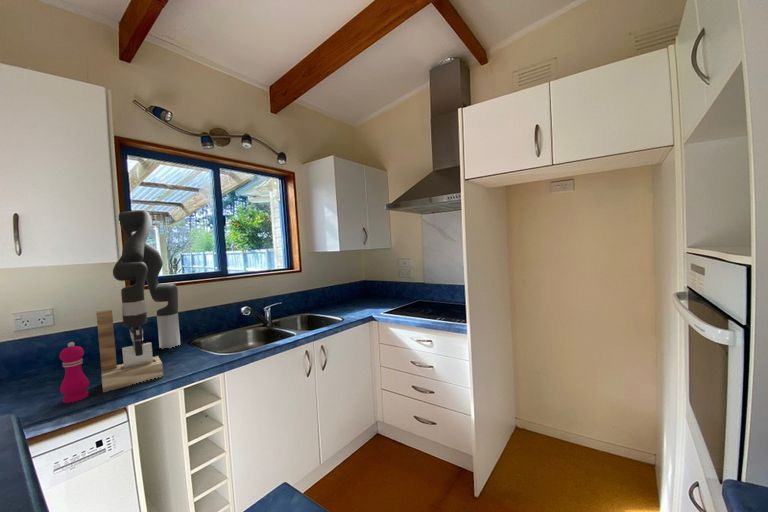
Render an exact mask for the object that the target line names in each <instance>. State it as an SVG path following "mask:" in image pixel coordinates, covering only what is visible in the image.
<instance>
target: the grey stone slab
mask: <svg viewBox="0 0 768 512" xmlns="http://www.w3.org/2000/svg"><path fill="white" fill-rule="evenodd" d="M152 346H153V344H152V342H146V343H145V342H143V345H142V349H143V354H142V355H140V356H136V354H135V346H133V345H130V346H126V347H125V346H124V347H121V349H122V350H121V351H122V360H123V361H122V362H123V363H122V364H124V369H128V368H132V367H136V366H141V365H145V364H149V363H153V357H154V356H153V355H154V354H153V347H152Z"/></svg>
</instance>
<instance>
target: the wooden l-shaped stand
mask: <svg viewBox="0 0 768 512" xmlns="http://www.w3.org/2000/svg"><path fill="white" fill-rule="evenodd" d="M96 325H97V336H98V348H99V357H100V358H99V360H100V368H101V369H100V370H101V371H100V372H101V385H102V393H107V392H110V390H111V391H113V390H118V389H122V388H125V387H129V386H132V384H133V385H136V383H137V384H140V383H139V382H141V383H144V382H147V381H146V380H148V381H151V380H150V379H152V380H155V379H154V378H156V379H158V377H159V378H163V377H164V369H163V367H164V366H163V362H162V360H161V359H160V357H159V355H156V356H153V363H149V364H145V365H141V366H136V367H132V368H128V369H124V363H122V364H118V363H117V351H116V342H115V339H116V338H115V330H114V329H115V328H114V317H113V309H105V310H99V311H96ZM162 376H163V377H162ZM143 381H144V382H143Z"/></svg>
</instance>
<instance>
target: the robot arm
mask: <svg viewBox="0 0 768 512" xmlns="http://www.w3.org/2000/svg"><path fill="white" fill-rule="evenodd" d="M118 217H119V218H118V222H119V221H120V223H119V225H120V227H121V229H122V231H123V233H124V235H125V237H126V239H127V240H125V242H124V244H123V247H122V249H121V250H122V252H121V256H120V258H119V259H118V260H117V262H116V263H115V265H114V266H113V268H112V275H113V278H114V279H115V280H117V281H120V282H123V281H124V282H125V281H135V280H136V282H135V283H134V284H132V285H128V286H126V287H122V289H121V290H120V293H121V295H120V296H121V302H122V303H121V314H122V315H121V316H122V325H123V327H130V329H129V334H130V339H131V341H132V346H135V354H136V356H140V355H142V354H143V349H142V345H143V344H144V329H143V327H141V325H145V324H147V323H148V315H147V313H148V312H147V303H146V299H145V298H146V297H145V282H146V283H147V286H148V290H149V294H150V296H151V299H152V300H153V301H154V302H156V303H163V302H167V305H165V306H164V307H160V308H159V309H157V310H156V320H157V322H156V323H157V332H158V344H159V349H160V348H161V350H165V349H164V348H169V349H173V348H172V347H174V348H176V347H175V346H177V347H179V346H181V333H180V323H179V322H180V320H179V294H178V293H179V291H178V287H177V284H175V283H162V284H160V283H159V280H158V276H159V274H160V273H161V271H162V268H163V265H164V262H163V259H162V256H161V254H160V252H159V250H158V249H157V248H156V247H154V246H153V245H152V244H150V243H148V242H147V240H148V238H149V235H150V233H151V230H152V227H153V225H152V224H153V223H152V222H153V221H152V220H153V219H152V217H151V214H150V213H149V211H147V210H145V209H143V210H140V209H139V210H130V211H123V212H120V213H119V214H118ZM178 345H179V346H178Z"/></svg>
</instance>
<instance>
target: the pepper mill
mask: <svg viewBox="0 0 768 512" xmlns="http://www.w3.org/2000/svg"><path fill="white" fill-rule="evenodd" d="M84 354H85V350H84V348H82V347H81V346H79V345H75V342H73V341H71V342H68V343H67V347H65V348H63V349H62V350H61V352H60V353H59V359H60V361H62V362H61V363H62V364H61V365H62V367H63V368H64V371H65V374H64V378H63V380H62V382H61V384H60V388H59V392H60V394H62V395H64V396H63V397H62V402H63V403H64V404H71V402H72V403H76V402H79V400H80V401H81V400H84V399H86V398H87V397H89V391H88V388H89V386H90V381H89V378H88V377H87V376H86V375H85V373H84V371H83V369H82V364H83V363H84V361H83V360H84V359H83V358H82V357H83V356H84ZM75 401H76V402H75Z"/></svg>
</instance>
